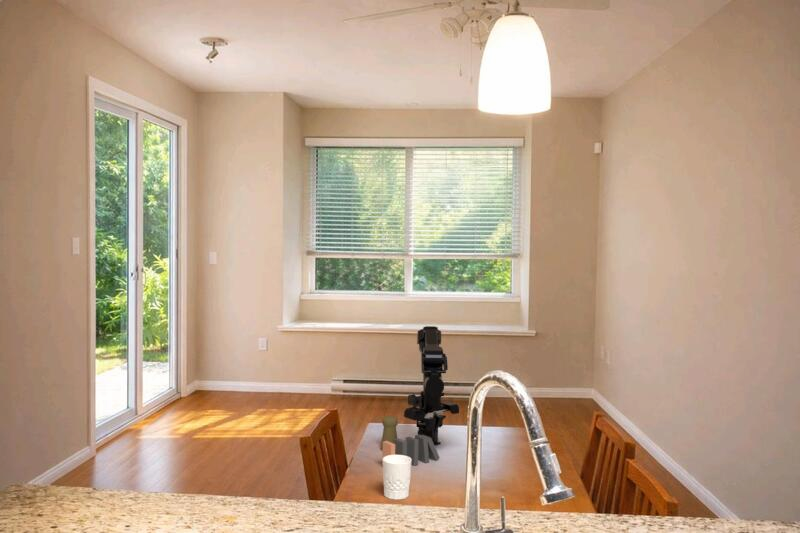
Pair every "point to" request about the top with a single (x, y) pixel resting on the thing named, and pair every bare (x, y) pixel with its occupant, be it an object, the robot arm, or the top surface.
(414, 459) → the grey rectangular block
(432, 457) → the gray rectangular block
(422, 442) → the grey domino
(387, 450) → the terracotta domino
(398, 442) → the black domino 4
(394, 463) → the white cup
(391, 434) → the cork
